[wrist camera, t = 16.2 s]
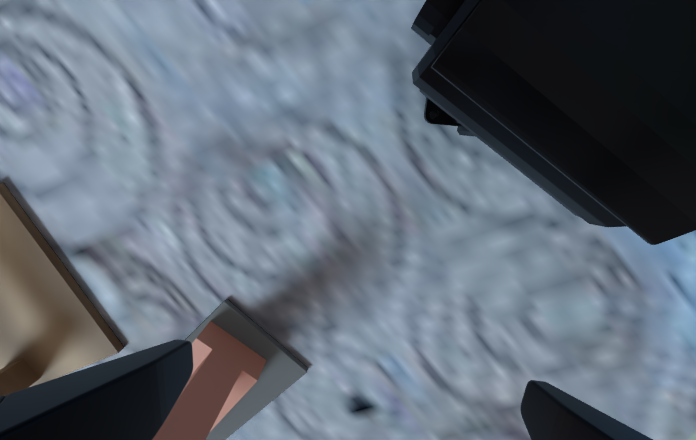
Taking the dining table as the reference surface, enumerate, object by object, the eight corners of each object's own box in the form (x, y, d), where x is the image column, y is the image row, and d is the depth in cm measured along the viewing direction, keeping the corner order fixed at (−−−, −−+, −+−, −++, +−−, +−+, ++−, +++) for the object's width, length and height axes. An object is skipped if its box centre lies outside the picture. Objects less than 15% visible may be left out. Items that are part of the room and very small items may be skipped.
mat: (226, 298, 23) (224, 301, 23) (308, 368, 25) (307, 372, 24) (134, 390, 26) (130, 394, 26) (211, 448, 27) (209, 452, 27)
